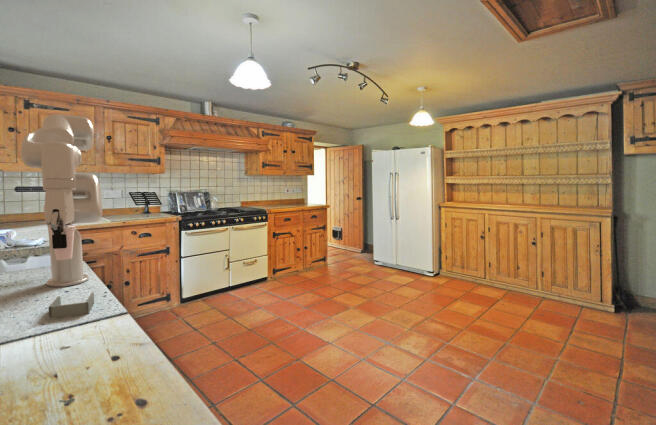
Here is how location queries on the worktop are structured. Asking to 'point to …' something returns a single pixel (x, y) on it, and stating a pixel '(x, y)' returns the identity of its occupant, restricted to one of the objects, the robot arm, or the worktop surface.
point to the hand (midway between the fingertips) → (63, 245)
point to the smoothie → (67, 252)
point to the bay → (70, 308)
